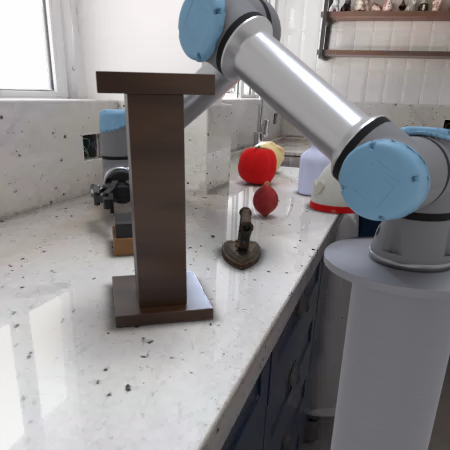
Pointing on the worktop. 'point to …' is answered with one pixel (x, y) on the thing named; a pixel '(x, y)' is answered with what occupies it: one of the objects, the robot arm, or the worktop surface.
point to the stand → (157, 198)
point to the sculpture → (276, 148)
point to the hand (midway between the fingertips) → (126, 206)
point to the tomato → (257, 165)
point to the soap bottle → (310, 169)
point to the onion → (265, 199)
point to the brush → (122, 234)
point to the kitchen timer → (328, 194)
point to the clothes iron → (242, 244)
